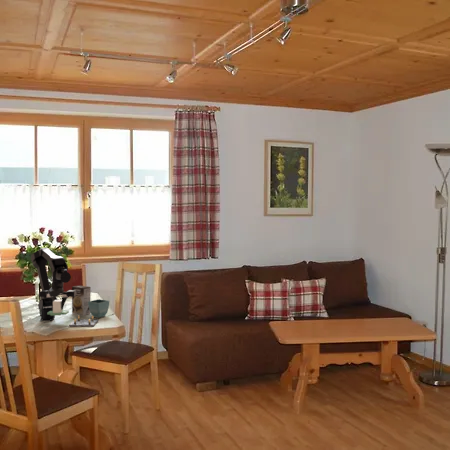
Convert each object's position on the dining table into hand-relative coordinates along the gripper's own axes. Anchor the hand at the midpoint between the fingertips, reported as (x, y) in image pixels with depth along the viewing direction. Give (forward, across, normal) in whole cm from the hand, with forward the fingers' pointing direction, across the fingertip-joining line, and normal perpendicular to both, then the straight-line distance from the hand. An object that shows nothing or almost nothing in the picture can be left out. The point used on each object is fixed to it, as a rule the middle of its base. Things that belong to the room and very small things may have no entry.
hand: (58, 309), depth 298 cm
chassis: (+8, +14, 0) cm, 16 cm away
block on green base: (+2, 0, 0) cm, 2 cm away
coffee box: (+8, +6, +27) cm, 29 cm away
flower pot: (+8, +18, +19) cm, 27 cm away
